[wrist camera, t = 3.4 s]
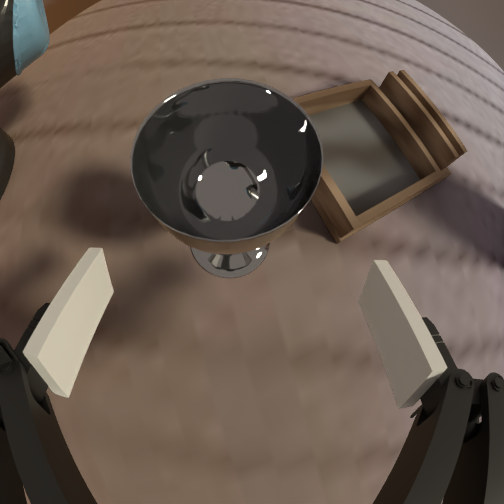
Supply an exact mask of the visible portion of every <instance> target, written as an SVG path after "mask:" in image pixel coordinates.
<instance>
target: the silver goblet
mask: <svg viewBox="0 0 504 504" xmlns="http://www.w3.org/2000/svg"><path fill="white" fill-rule="evenodd" d="M322 170H323V149H322V142H321V139H320V136H319V133H318V130H317V128H316V126H315V125H314V123H313V121H312V120H311V118H310V116H309V115H308V114H307V113H306V112H305V110H304V109H303V108H302V107H301V106H300V105H299V104H298V103H296V102H295V101H294V100H293V99H292V98H291V97H289V96H287V95H286V94H284V93H283V92H281V91H279V90H277V89H275V88H273V87H270V86H268V85H266V84H262V83H259V82H255V81H251V80H245V79H237V78H221V79H213V80H207V81H203V82H199V83H195V84H192V85H190V86H187V87H185V88H183V89H180V90H178V91H177V92H175V93H173V94H172V95H170V96H168V97H167V98H165V99H164V100H163V101H162V102H160V103H159V104H158V105H157V106H156V107H155V108H154V109H153V110H152V111H151V112H150V113H149V114H148V116H147V117H146V118H145V120H144V121H143V123H142V124H141V126H140V127H139V129H138V132H137V134H136V136H135V139H134V141H133V146H132V151H131V174H132V179H133V184H134V186H135V188H136V190H137V193H138V195H139V197H140V199H141V201H142V202H143V203H144V205H145V206H146V207H147V209H148V210H149V211H150V213H151V214H152V215H153V217H154V218H155V219H156V221H157V222H158V223H159V224H160V225H161V226H163V227H164V228H165V229H166V230H167V231H168V232H169V233H170V234H171V235H172V236H174V237H175V238H176V239H178V240H179V241H181V242H183V243H184V244H186V245H188V246H190V247H191V250H192V253H193V255H194V257H195V259H196V261H197V262H198V263H199V264H200V266H201V267H202V268H204V269H205V270H206V271H208V272H209V273H211V274H213V275H216V276H218V277H223V278H236V277H241V276H244V275H247V274H249V273H250V272H252V271H254V270H255V269H256V268H257V267H258V266H259V265H260V264H261V263H262V262H263V260H264V259H265V257H266V255H267V252H268V249H269V244H270V242H271V241H273V240H275V239H277V238H278V237H279V236H280V235H281V234H283V233H284V232H285V231H286V230H287V229H288V228H289V227H290V226H291V225H292V224H293V222H294V221H295V220H296V219H297V218H298V216H299V215H300V214H301V213H302V212H303V210H304V209H305V207H306V206H307V204H308V203H309V201H310V199H311V198H312V196H313V194H314V192H315V190H316V188H317V186H318V184H319V180H320V177H321V173H322Z"/></svg>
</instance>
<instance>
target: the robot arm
mask: <svg viewBox="0 0 504 504" xmlns="http://www.w3.org/2000/svg"><path fill="white" fill-rule="evenodd" d="M48 45H49V29H48V24H47V19H46V14H45V10H44V5H43V1H42V0H0V88H1V87H3V86H4V85H5V84H6V83H7V82H8V81H10V80H11V79H12V78H13V77H15V76H16V75H17V76H19V75H20V74H21V72H22V70H24V69H25V68H26V67H27V66H29V65H30V64H31V63H32V62H34V61H35V60H36V59H38V58H39V57H40V56H41V55H42V54H43V53H44V52H45V51H46V49H47V47H48ZM14 157H15V147H14V142H13V140H12V138H11V137H10V136H9V135H8V134H7V133H6V132H5V131H4V130H2V129H0V199H1V197H2V195H3V193H4V190H5V188H6V186H7V183H8V181H9V178H10V175H11V171H12V168H13V163H14ZM113 293H114V291H113V287H112V284H111V280H110V277H109V273H108V269H107V265H106V261H105V257H104V253H103V249H102V248H90V247H89V249H88V250H87V251H86V253H85V254H84V255H83V257H82V258H81V259H80V261H79V262H78V264H77V265H76V266H75V268H74V269H73V271H72V272H71V273H70V275H69V276H68V278H67V279H66V281H65V282H64V284H63V285H62V287H61V288H60V290H59V291H58V293H57V294H56V296H55V297H54V299H53V300H52V302H51V304H50V303H45V304H44V305H43V306H42V307H41V308H40V309H39V310H38V311H37V312H36V314H35V316H34V317H33V320H32V321H31V322H30V324H29V327H27V329H26V331H25V332H24V334H23V336H22V338H21V339H20V341H19V343H18V345H17V347H16V348H15V350H13V349H12V347H11V346H10V344H9V343H8V342H7V341H6V340H5V339H1V338H0V504H27V501H26V497H25V493H24V488H25V491H26V493H27V495H28V498H29V500H30V502H31V504H97V502H96V501H95V499H94V497H93V496H92V494H91V492H90V490H89V489H88V487H87V485H86V483H85V481H84V479H83V478H82V476H81V474H80V472H79V470H78V468H77V466H76V464H75V462H74V460H73V457H72V455H71V453H70V451H69V449H68V446H67V444H66V442H65V439H64V437H63V435H62V432H61V430H60V427H59V424H58V422H57V419H56V416H55V413H54V411H53V408H52V405H51V402H50V399H49V396H48V394H47V393H46V390H47V388H48V386H49V388H50V389H51V390H52V391H53V392H54V394H57V395H61V396H64V397H67V398H69V396H70V393H71V390H72V387H73V385H74V382H75V379H76V377H77V374H78V371H79V369H80V366H81V364H82V361H83V359H84V356H85V354H86V352H87V349H88V347H89V344H90V342H91V340H92V338H93V335H94V333H95V331H96V328H97V326H98V324H99V322H100V320H101V318H102V315H103V313H104V311H105V309H106V307H107V305H108V303H109V301H110V299H111V297H112V295H113ZM359 304H360V307H361V309H362V312H363V314H364V316H365V319H366V321H367V324H368V326H369V329H370V331H371V334H372V336H373V339H374V342H375V344H376V347H377V349H378V352H379V355H380V357H381V360H382V363H383V365H384V368H385V371H386V374H387V377H388V379H389V382H390V385H391V388H392V391H393V394H394V397H395V400H396V403H397V406H398V409H402V408H406V407H410V406H413V405H414V404H415V403H416V402H417V401H418V400H419V399H421V402H422V405H421V406H420V407H419V408H418V409H417V410H416V411H415V412H414V413H413V414H412V415H411V418H413V417H414V416H415V415H416V414H417V415H416V417H415V420H414V422H413V425H412V427H411V430H410V432H409V435H408V437H407V439H406V441H405V444H404V446H403V448H402V450H401V452H400V454H399V457H398V459H397V461H396V463H395V465H394V467H393V469H392V471H391V472H390V474H389V476H388V478H387V480H386V482H385V484H384V485H383V487H382V489H381V491H380V492H379V494H378V496H377V497H376V499H375V501H374V502H373V504H441V502H442V500H443V503H442V504H504V379H503V377H502V376H500V375H499V374H497V373H490V374H489V375H488V376H487V377H486V378H485V379H484V380H481V379H473V378H472V377H471V375H470V374H469V373H468V372H466V371H465V370H462V369H458V368H457V367H456V365H455V363H454V361H453V359H452V357H451V355H450V353H449V351H448V349H447V347H446V345H445V343H443V340H442V338H441V336H439V332H438V331H437V329H436V327H435V325H434V324H433V323H432V322H431V321H430V320H429V319H428V318H427V317H424V318H421V316H420V314H419V312H418V311H417V309H416V307H415V305H414V304H413V302H412V300H411V299H410V297H409V295H408V294H407V292H406V290H405V289H404V287H403V285H402V284H401V282H400V281H399V279H398V277H397V276H396V274H395V273H394V271H393V269H392V268H391V266H390V265H389V263H388V262H387V260H373V263H372V266H371V269H370V272H369V275H368V278H367V280H366V283H365V286H364V288H363V291H362V294H361V296H360V299H359ZM481 416H482V422H481V423H479V418H480V417H481ZM23 486H24V488H23ZM443 497H444V499H443Z"/></svg>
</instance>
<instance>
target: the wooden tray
mask: <svg viewBox="0 0 504 504" xmlns="http://www.w3.org/2000/svg"><path fill="white" fill-rule="evenodd" d="M293 100H294V101H295V102H296V103H298V104H299V105H300V106H301V107H302V108H303V109H304V110H305V112H306V113H307V114H308V115H309V116H310V118H311V120H312V121H313V123H314V125H315V126H316V128H317V130H318V133H319V136H320V139H321V142H322V149H323V170H322V173H321V177H320V180H319V184H318V186H317V188H316V190H315V192H314V194H313V196H312V198H311V201H312V203H313V204H314V206H315V208H316V209H317V211H318V213H319V214H320V216H321V218H322V219H323V221H324V223H325V224H326V226H327V228H328V229H329V231H330V233H331V235H332V236H333V238H334V240H335V241H336V243H339V242H340V241H342V240H344V239H346V238H347V237H349V236H351V235H353V234H354V233H356V232H358V231H359V230H361V229H363V228H365V227H366V226H368V225H370V224H371V223H373V222H375V221H376V220H378V219H380V218H381V217H383V216H385V215H386V214H388V213H390V212H391V211H393V210H395V209H396V208H398V207H400V206H401V205H403V204H405V203H406V202H408V201H409V200H411V199H413V198H414V197H416V196H418V195H419V194H421V193H422V192H424V191H426V190H427V189H429V188H430V187H432V186H434V185H435V184H437V183H438V182H440V181H441V180H443V179H445V178H446V177H448V176H449V175H450V174H451V173H450V171H449V170H448V168H447V166H448V165H450V164H451V163H452V162H454V161H455V160H456V159H458V158H459V157H460V156H461V155H463V154H464V153H465V152H467V150H466V148H465V146H464V145H463V143H462V142H461V140H460V139H459V137H458V136H457V135H456V133H455V132H454V130H453V129H452V127H451V126H450V125H449V123H448V122H447V121H446V119H445V118H444V117H443V115H442V114H441V113H440V111H439V110H438V109H437V107H436V106H435V105H434V104H433V102H432V101H431V100H430V99H429V98H428V96H427V95H426V94H425V93H424V92H423V90H422V89H421V88H420V87H419V86H418V85H417V84H416V82H415V81H414V80H413V79H412V78H411V77H410V76H409V75H408V74H407V73H406V72H405V71H404V70H400V71H399V73H398V74H397V75H396V74H395V73H394V72H393V71H392V72H389V73H388V74H387V76H386V78H385V79H384V81H383V82H382V84H381V86H380V87H379V88H378V86H377V85H376V84H375V83H374V82H373V81H372V80H371V79H370V80H365V81H360V82H355V83H351V84H346V85H342V86H337V87H333V88H329V89H325V90H321V91H318V92H314V93H310V94H307V95H303V96H300V97H296V98H293Z"/></svg>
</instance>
